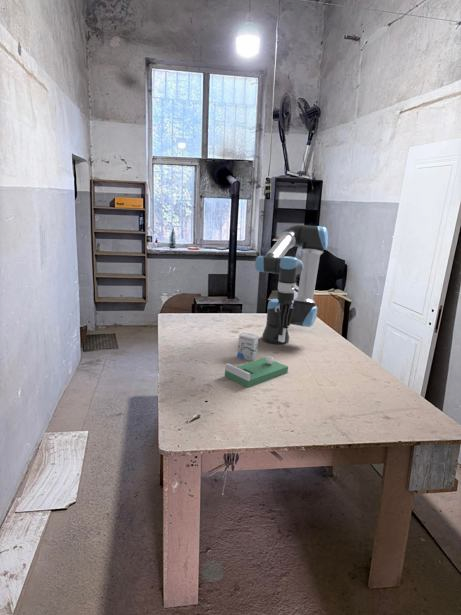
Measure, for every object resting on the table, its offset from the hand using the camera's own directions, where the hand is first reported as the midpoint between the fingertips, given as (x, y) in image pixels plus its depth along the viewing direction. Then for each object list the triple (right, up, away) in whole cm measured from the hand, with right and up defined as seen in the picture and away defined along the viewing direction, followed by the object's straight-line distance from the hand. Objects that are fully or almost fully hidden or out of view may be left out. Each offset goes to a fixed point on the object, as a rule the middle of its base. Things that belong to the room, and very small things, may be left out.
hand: (281, 341), depth 196 cm
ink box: (-15, -9, +12) cm, 22 cm away
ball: (-6, -8, -3) cm, 11 cm away
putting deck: (-12, -14, -7) cm, 20 cm away
